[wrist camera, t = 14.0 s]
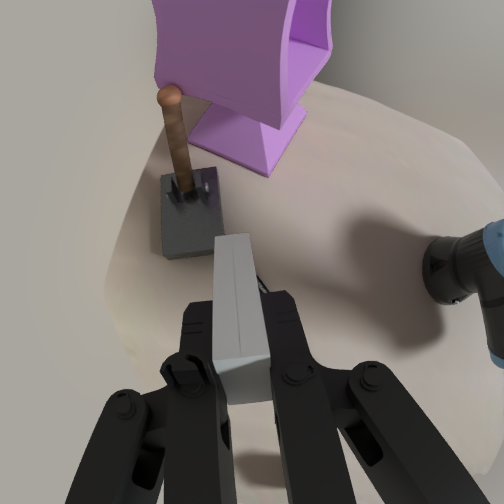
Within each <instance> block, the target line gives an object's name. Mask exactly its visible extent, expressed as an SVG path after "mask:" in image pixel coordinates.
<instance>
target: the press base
mask: <svg viewBox="0 0 504 504" xmlns="http://www.w3.org/2000/svg"><path fill="white" fill-rule="evenodd" d="M192 173H193V178H194V184H195V188H194V189H193V190H191V191H188V192H180V191H179V189H178V184H177V180H176V176H175V173H171V174H166V175H161V226H162V249H163V256H164V257H166V258H167V259H169V260H172V259H180V258H188V257H196V256H204V255H211V254H214V246H215V237H216V236H224V227H223V218H222V208H221V198H220V187H219V177H218V172H217V167H209V168H202V169H196V170H192Z"/></svg>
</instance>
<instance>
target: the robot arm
mask: <svg viewBox="0 0 504 504" xmlns="http://www.w3.org/2000/svg"><path fill="white" fill-rule="evenodd" d="M423 278H424V282H425V285H426V288H427V290H428V292H429V294H430V295H431V296H432V298H433V299H434V300H435V301H437V302H438V303H440V304H443V305H454V304H458V303H460V302H462V301H463V300H465V299H466V298H468V297H469V296H470V295H472V294H473V293H478V296H479V300H480V304H481V309H482V314H483V319H484V324H485V330H486V336H487V345H488V349H489V351H490V357H491V360H492V362H493V363H494V364H495V365H496V366H498V367H500V368H502V369H504V219H502V220H499V221H497V222H491V223H489V224H487V225H486V226H485V227H484V228H482V229H480V230H477V231H475V232H473V233H471V234H468V235H466V236H464V237H450V236H447V237H442V238H440V239H438V240H435V241H434V242H432V243H431V244H430V245H429V247H428V248H427V250H426V252H425V255H424V259H423ZM160 373H161V375H162V376H163V378H164V380H165V381H166V383H167V384H168V385H166V386H165V387H163V388H161V389H159V390H156V391H153V392H149V393H146V394H143V395H140V393H138V392H136V391H134V390H132V389H123V390H120V391H117V392H115V393H114V394H113V395H111V397H110V398H109V399H108V401H107V402H106V404H105V406H104V409H103V411H102V413H101V415H100V418H99V420H98V422H97V424H96V426H95V429H94V431H93V433H92V436H91V438H90V440H89V443H88V445H87V448H86V450H85V452H84V455H83V457H82V460H81V462H80V464H79V467H78V469H77V472H76V475H75V477H74V480H73V482H72V485H71V488H70V491H69V493H68V496H67V499H66V502H65V504H156V503H157V499H158V496H159V493H160V490H161V486H162V483H163V480H164V504H237V498H236V488H235V477H234V465H233V453H232V440H231V426H230V419H229V415H228V411H227V403H228V405H236V404H246V403H255V402H263V401H270V400H273V405H274V414H275V424H276V428H277V434H278V440H279V446H280V453H281V459H282V465H283V471H284V477H285V484H286V490H287V496H288V502H289V504H356V500H355V496H354V492H353V488H352V484H351V480H350V476H349V472H348V468H347V464H346V460H345V457H344V453H343V449H342V445H341V442H340V438H339V434H338V431H337V428H338V429H339V430H340V432H341V434H342V435H343V437H344V439H345V440H346V442H347V444H348V445H349V447H350V449H351V450H352V452H353V453H354V455H355V457H356V458H357V460H358V462H359V463H360V465H361V466H362V468H363V470H364V471H365V473H366V474H367V476H368V478H369V479H370V481H371V482H372V484H373V486H374V487H375V489H376V490H377V492H378V494H379V495H380V497H381V498H382V500H383V501H384V503H385V504H490V503H489V501H488V500H487V498H486V497H485V495H484V494H483V492H482V491H481V489H480V488H479V487H478V485H477V484H476V482H475V481H474V480H473V478H472V477H471V475H470V474H469V472H468V471H467V469H466V468H465V467H464V465H463V464H462V462H461V461H460V460H459V458H458V457H457V456H456V454H455V453H454V451H453V450H452V449H451V447H450V446H449V445H448V443H447V442H446V441H445V439H444V438H443V437H442V435H441V434H440V433H439V431H438V430H437V429H436V427H435V426H434V425H433V423H432V422H431V421H430V419H429V418H428V417H427V416H426V414H425V413H424V412H423V410H422V409H421V408H420V407H419V405H418V404H417V403H416V401H415V400H414V399H413V398H412V396H411V395H410V394H409V392H408V391H407V390H406V389H405V387H404V386H403V385H402V384H401V382H400V381H399V380H398V379H397V377H396V376H395V375H394V374H393V372H392V371H391V370H390V369H389V368H388V367H387V366H386V365H384V364H382V363H380V362H377V361H365V362H362V363H359V364H358V365H357V366H355V367H354V368H353V369H352V370H339V369H331V368H327V367H324V366H322V365H320V364H319V363H318V362H316V361H315V359H314V358H313V357H312V355H311V353H310V350H309V347H308V344H307V340H306V337H305V334H304V330H303V327H302V324H301V320H300V317H299V314H298V312H297V307H296V304H295V301H294V298H293V297H292V296H291V295H290V294H289V293H288V292H287V291H286V290H283V291H276V292H269V293H261V294H259V289H258V283H257V277H256V272H255V266H254V260H253V255H252V249H251V243H250V238H249V232H247V233H239V234H231V235H224V236H216V237H215V246H214V277H213V300H210V301H201V302H192V303H190V304H189V305H188V307H187V308H186V310H185V311H184V313H183V322H182V330H181V339H180V348H179V352H177V353H175V354H173V355H171V356H169V357H168V358H167V359H166V360H165V361H164V362H163V364H162V366H161V369H160Z"/></svg>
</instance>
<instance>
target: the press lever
mask: <svg viewBox="0 0 504 504" xmlns="http://www.w3.org/2000/svg"><path fill="white" fill-rule="evenodd" d="M181 99H182V92H181V90H180V89H179V88H178V87H177V86H175V85H166V86H164V87H162V88H161V89H160V90H159V92H158V94H157V101H158V103H159V105H160V106H161V107H162V112H163V117H164V123H165V128H166V133H167V138H168V143H169V148H170V153H171V157H172V162H173V167H174V171H175V176H176V180H177V184H178V189H179V191H180V192H188V191H191V190H193V189H194V188H195V184H194V178H193V173H192V168H191V163H190V158H189V152H188V147H187V141H186V135H185V130H184V124H183V118H182V112H181V106H180V101H181Z"/></svg>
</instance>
